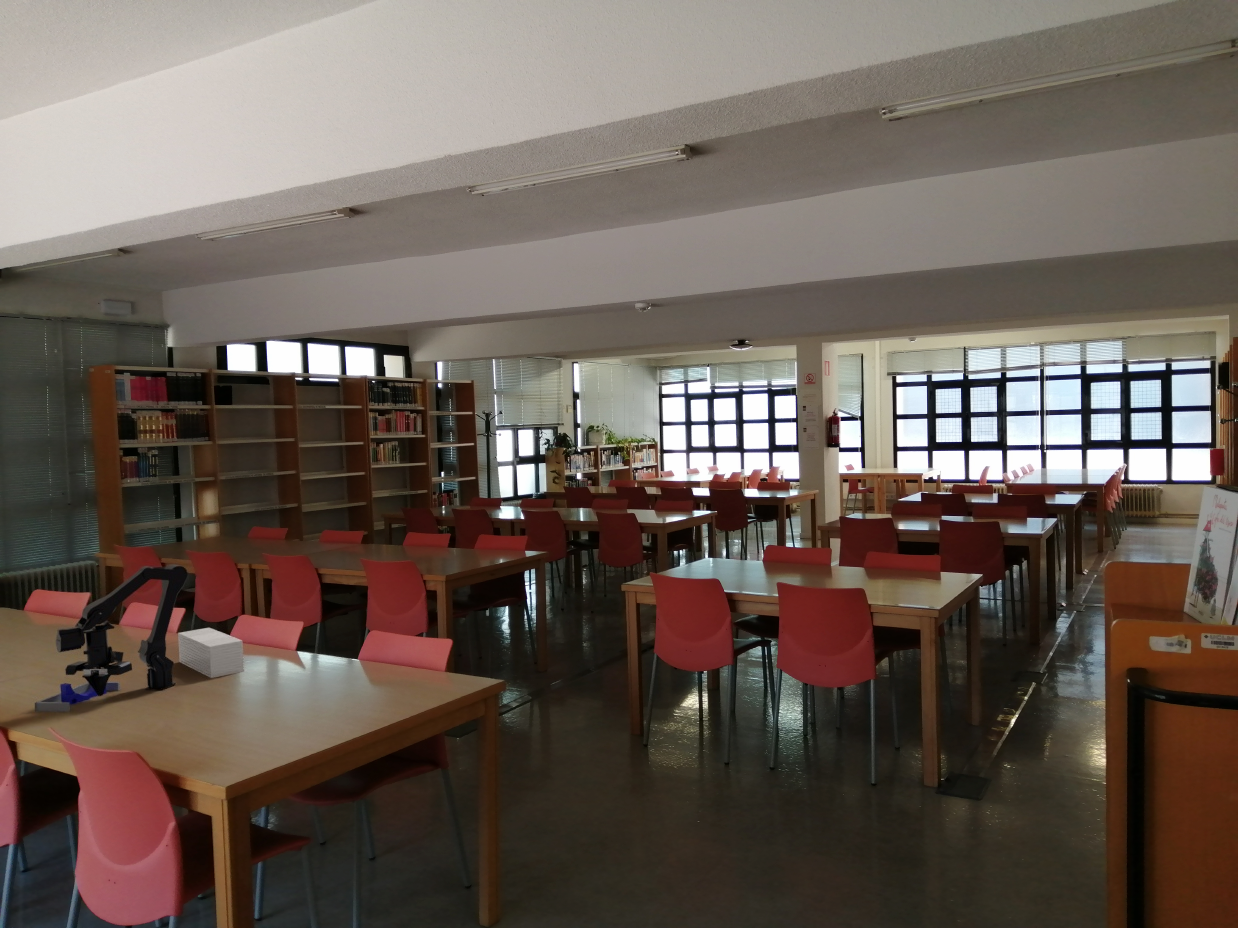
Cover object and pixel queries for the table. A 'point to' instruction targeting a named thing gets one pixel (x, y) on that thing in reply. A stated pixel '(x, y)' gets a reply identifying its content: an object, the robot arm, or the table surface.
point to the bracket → (58, 706)
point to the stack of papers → (211, 652)
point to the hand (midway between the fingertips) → (100, 695)
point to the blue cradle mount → (76, 694)
